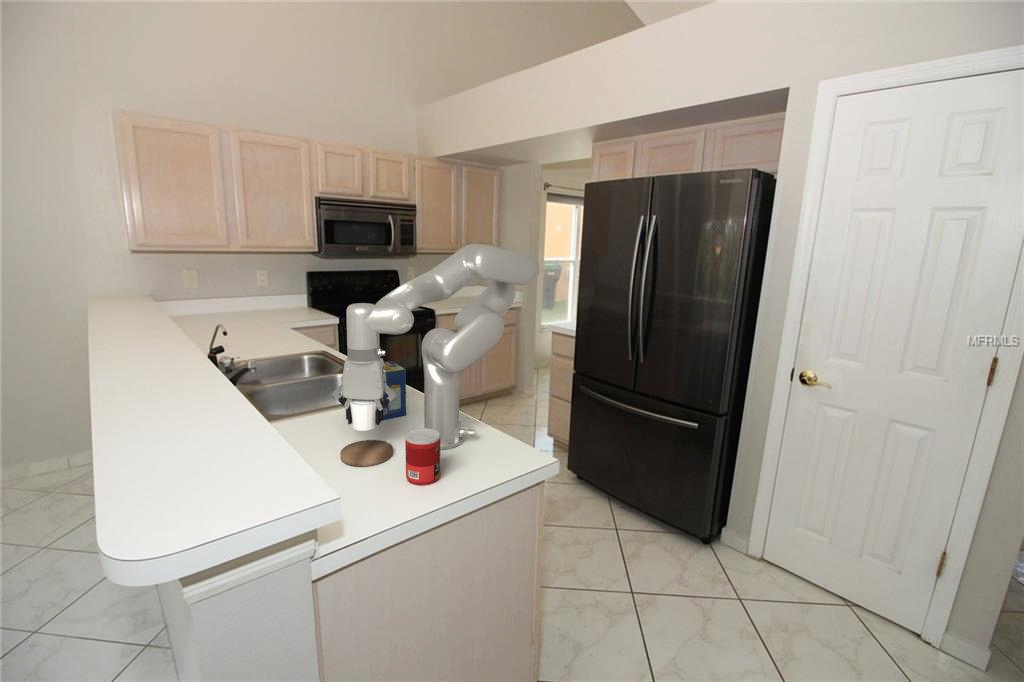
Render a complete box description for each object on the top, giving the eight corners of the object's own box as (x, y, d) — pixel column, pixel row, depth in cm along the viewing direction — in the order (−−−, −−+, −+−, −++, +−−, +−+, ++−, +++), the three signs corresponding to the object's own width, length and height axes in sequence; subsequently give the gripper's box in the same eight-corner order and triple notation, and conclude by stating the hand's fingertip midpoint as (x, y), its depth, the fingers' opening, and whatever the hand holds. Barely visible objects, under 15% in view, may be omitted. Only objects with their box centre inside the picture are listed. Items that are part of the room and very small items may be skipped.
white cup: (352, 433, 116) (352, 406, 115) (348, 423, 122) (347, 397, 121) (381, 429, 120) (381, 403, 118) (375, 419, 125) (375, 394, 124)
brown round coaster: (397, 444, 130) (397, 440, 129) (386, 467, 117) (386, 463, 117) (349, 443, 129) (349, 439, 129) (333, 466, 116) (333, 462, 116)
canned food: (442, 484, 110) (442, 440, 108) (407, 488, 108) (406, 443, 106) (437, 468, 118) (437, 426, 115) (404, 471, 115) (404, 429, 113)
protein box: (346, 414, 149) (344, 366, 145) (393, 405, 158) (392, 360, 154) (358, 426, 140) (356, 375, 137) (407, 415, 150) (406, 368, 146)
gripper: (402, 351, 121) (402, 418, 125) (333, 349, 120) (335, 416, 124) (396, 359, 114) (396, 429, 117) (322, 356, 113) (325, 427, 117)
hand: (365, 422), depth 121 cm, fingers closed on white cup, 6 cm apart
